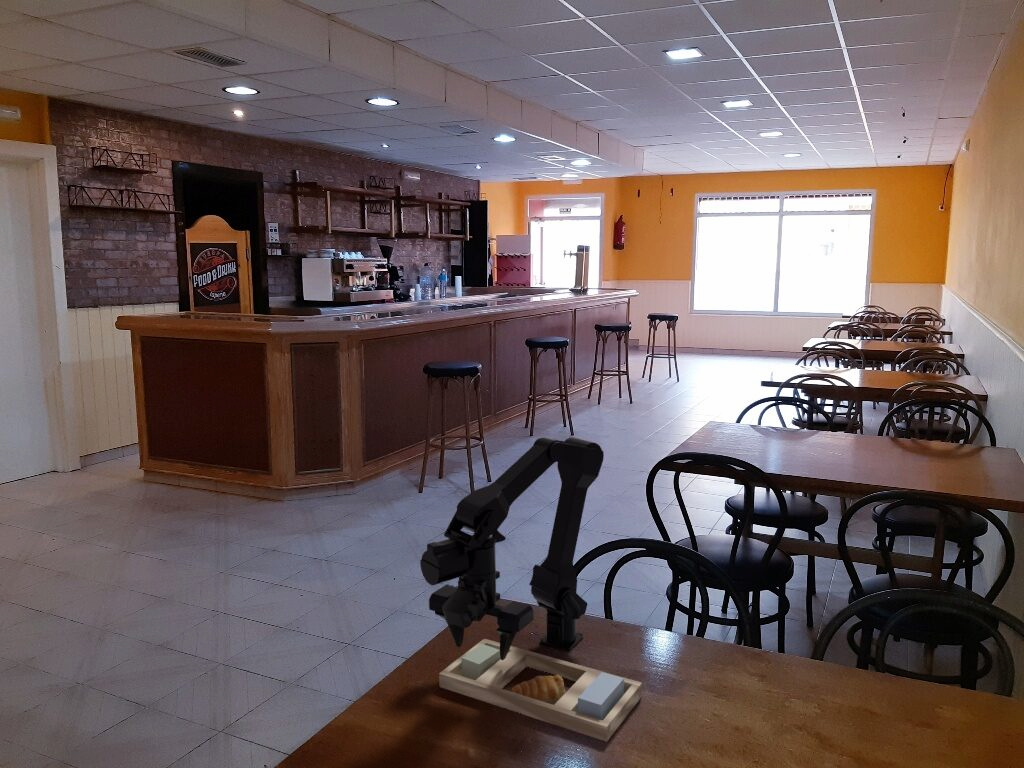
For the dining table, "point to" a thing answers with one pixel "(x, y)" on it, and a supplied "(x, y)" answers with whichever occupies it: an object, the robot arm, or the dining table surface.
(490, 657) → the block
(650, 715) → the dining table surface
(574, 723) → the frame
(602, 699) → the wing block
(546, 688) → the pastry
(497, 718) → the dining table surface
